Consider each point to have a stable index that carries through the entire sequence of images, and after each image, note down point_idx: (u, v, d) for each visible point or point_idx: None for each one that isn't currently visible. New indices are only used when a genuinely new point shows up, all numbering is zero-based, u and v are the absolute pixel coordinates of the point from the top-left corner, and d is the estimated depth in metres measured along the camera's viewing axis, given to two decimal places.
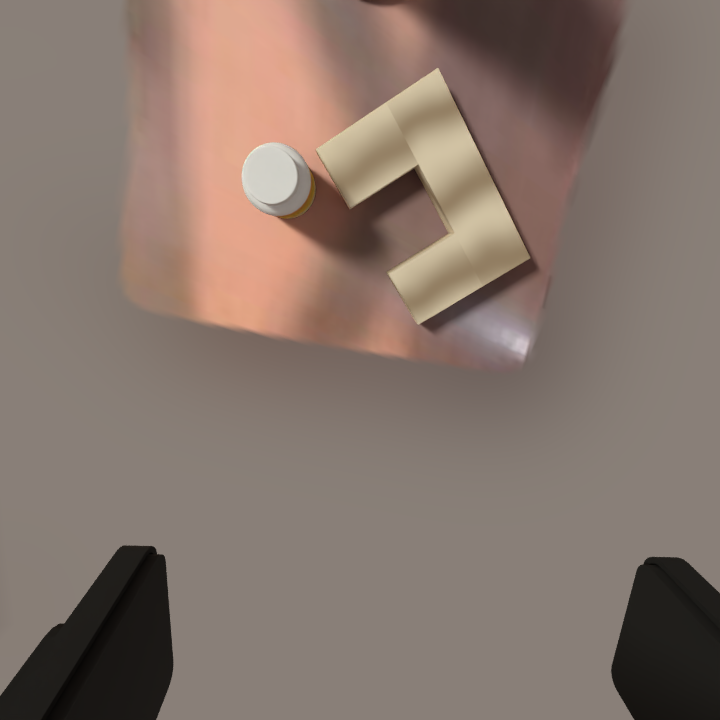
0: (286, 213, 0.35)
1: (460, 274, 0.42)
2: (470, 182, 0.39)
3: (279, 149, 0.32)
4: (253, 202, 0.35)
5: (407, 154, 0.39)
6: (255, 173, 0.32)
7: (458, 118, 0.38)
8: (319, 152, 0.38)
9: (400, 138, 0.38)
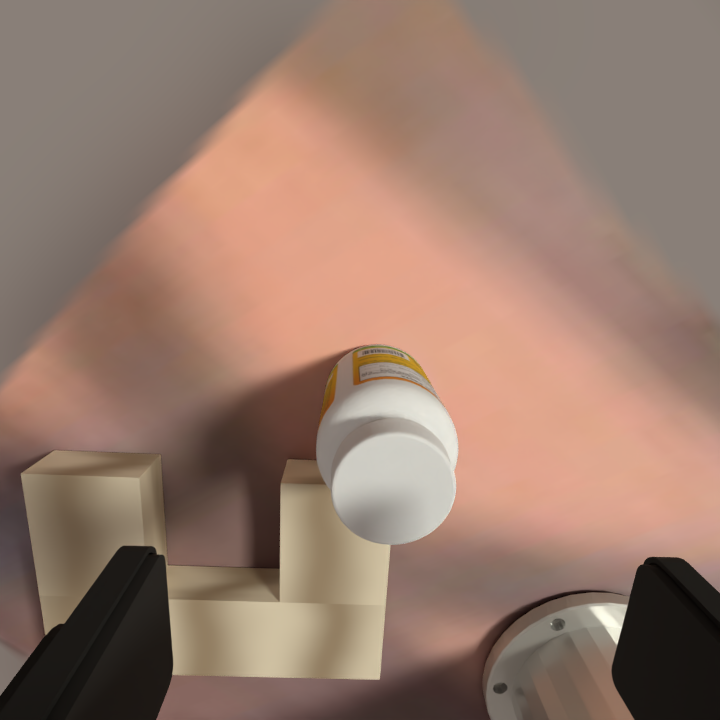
0: (320, 432, 0.16)
1: (77, 575, 0.23)
2: (210, 649, 0.24)
3: (423, 534, 0.14)
4: (377, 393, 0.16)
5: (302, 596, 0.23)
6: (417, 468, 0.14)
7: (304, 673, 0.25)
8: None
9: (328, 598, 0.23)
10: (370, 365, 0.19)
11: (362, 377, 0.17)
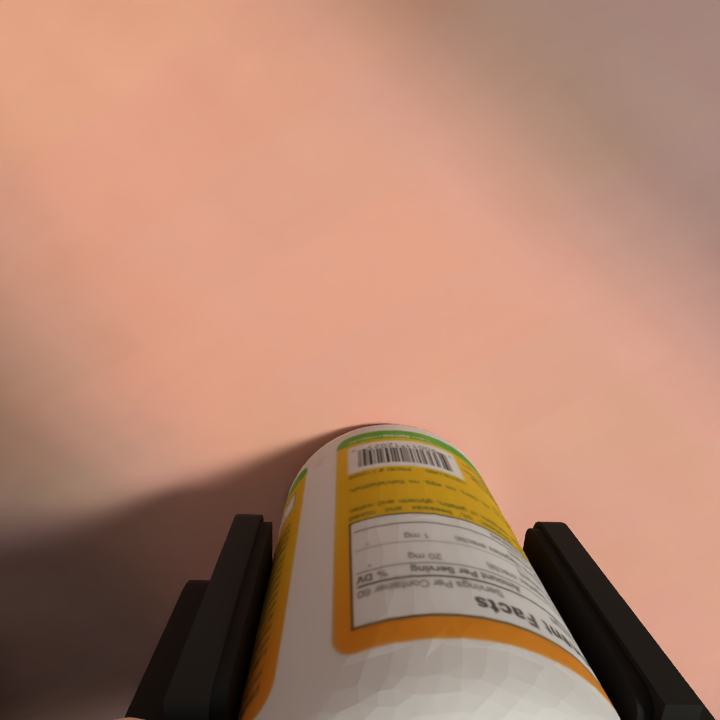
0: None
1: None
2: None
3: None
4: None
5: None
6: None
7: None
8: None
9: None
10: (380, 526, 0.07)
11: (359, 601, 0.06)
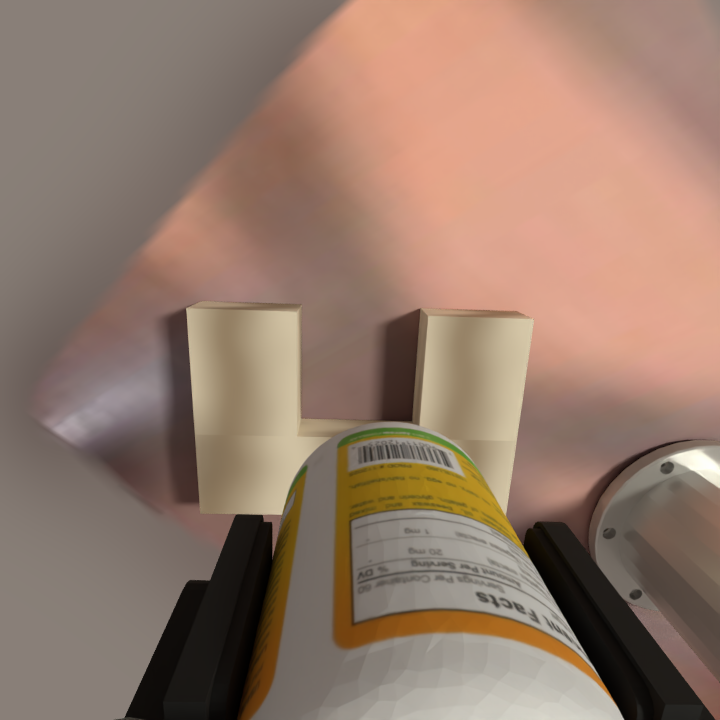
0: None
1: (231, 412, 0.24)
2: None
3: None
4: None
5: (439, 432, 0.25)
6: None
7: None
8: (526, 321, 0.23)
9: (464, 434, 0.25)
10: (380, 522, 0.07)
11: (360, 596, 0.06)
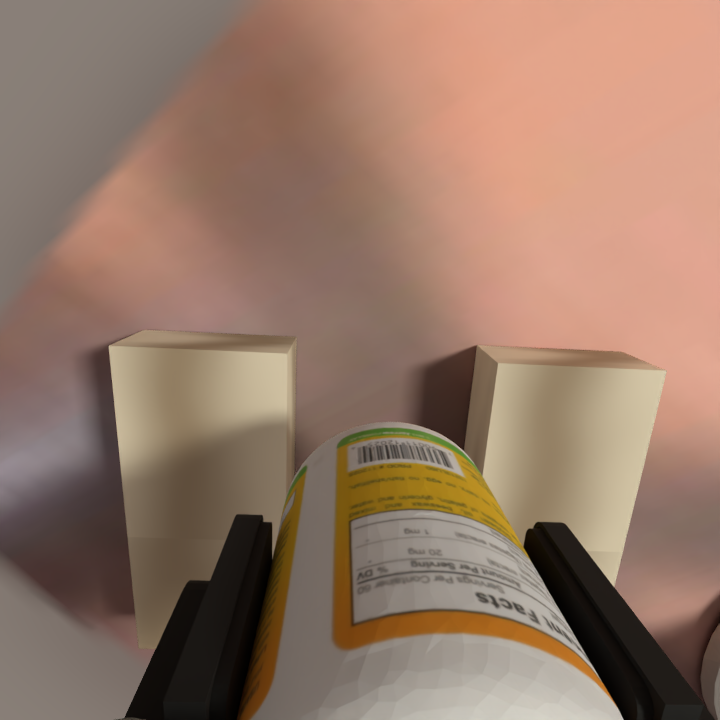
0: None
1: (184, 505, 0.16)
2: None
3: None
4: None
5: None
6: None
7: None
8: (654, 373, 0.15)
9: None
10: (380, 522, 0.07)
11: (360, 597, 0.06)
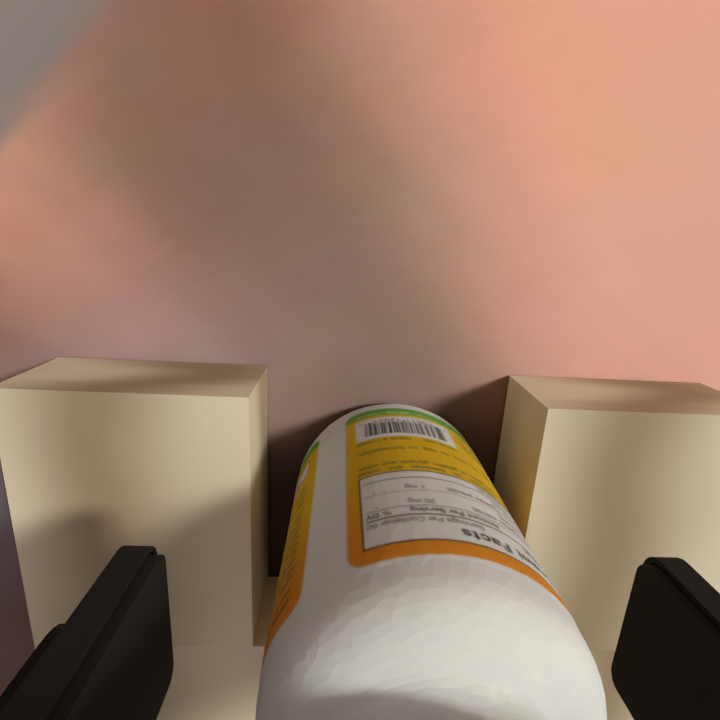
0: (263, 693, 0.06)
1: None
2: None
3: None
4: (413, 618, 0.06)
5: None
6: None
7: None
8: None
9: (600, 640, 0.12)
10: (384, 480, 0.09)
11: (369, 532, 0.07)
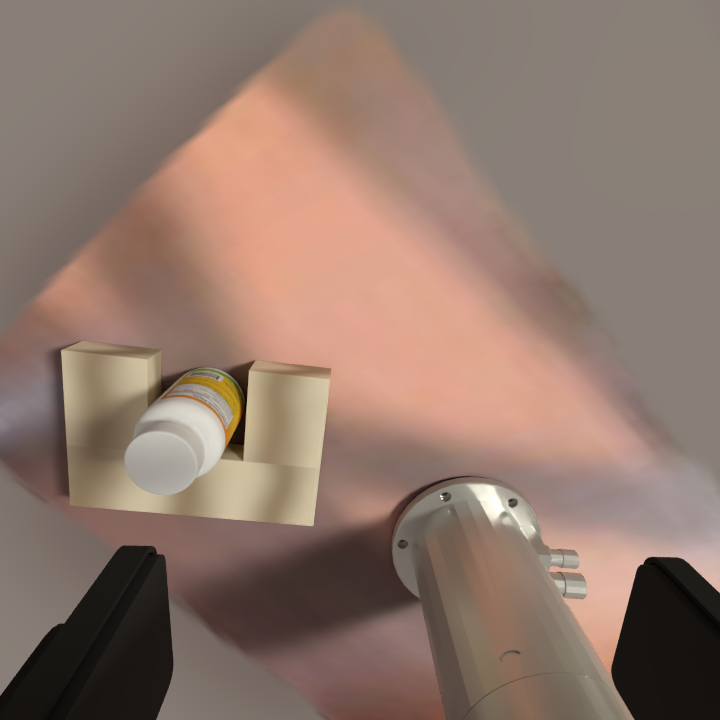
0: (135, 427, 0.27)
1: (96, 430, 0.31)
2: (190, 494, 0.33)
3: (180, 489, 0.25)
4: (167, 406, 0.26)
5: (259, 457, 0.33)
6: (173, 451, 0.24)
7: (258, 517, 0.34)
8: (324, 380, 0.31)
9: (279, 460, 0.33)
10: (183, 385, 0.29)
11: (169, 394, 0.28)
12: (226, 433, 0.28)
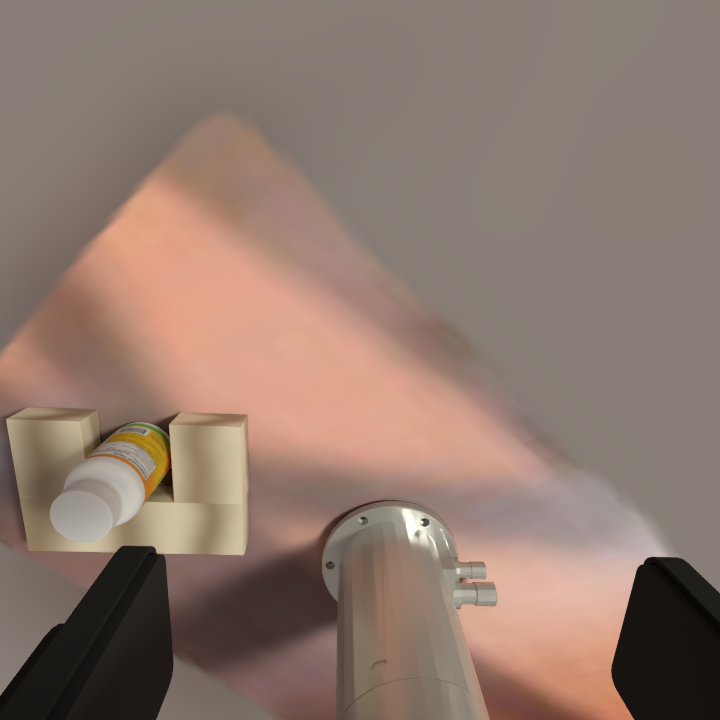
0: None
1: (43, 484, 0.36)
2: (131, 534, 0.38)
3: (100, 537, 0.29)
4: (89, 465, 0.31)
5: (188, 498, 0.37)
6: (90, 507, 0.29)
7: (194, 550, 0.38)
8: (236, 428, 0.35)
9: (205, 499, 0.37)
10: (109, 443, 0.33)
11: (94, 453, 0.32)
12: (146, 483, 0.33)
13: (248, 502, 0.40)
